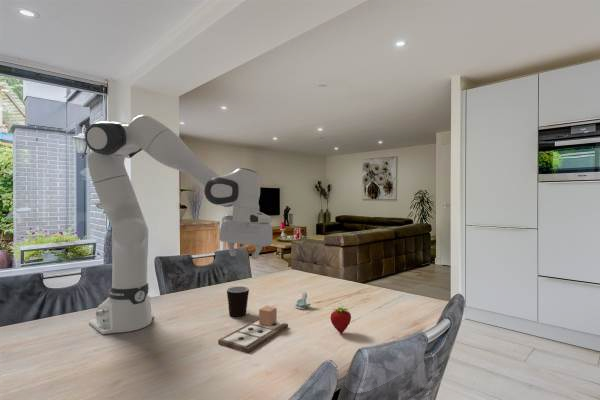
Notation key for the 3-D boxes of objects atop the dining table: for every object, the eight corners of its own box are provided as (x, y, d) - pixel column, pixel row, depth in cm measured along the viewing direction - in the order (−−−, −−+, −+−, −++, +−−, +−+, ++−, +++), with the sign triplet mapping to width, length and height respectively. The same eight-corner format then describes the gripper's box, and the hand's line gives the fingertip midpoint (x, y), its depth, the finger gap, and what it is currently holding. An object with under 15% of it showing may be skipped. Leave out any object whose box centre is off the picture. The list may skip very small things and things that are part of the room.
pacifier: (299, 311, 128) (312, 308, 131) (299, 296, 128) (312, 294, 131) (291, 306, 135) (304, 303, 138) (291, 291, 135) (303, 289, 137)
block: (259, 323, 110) (259, 309, 110) (266, 319, 114) (266, 305, 114) (269, 326, 108) (269, 311, 108) (276, 321, 112) (276, 307, 112)
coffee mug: (243, 319, 118) (244, 293, 118) (222, 317, 120) (222, 291, 120) (254, 309, 130) (254, 285, 130) (234, 307, 131) (235, 283, 131)
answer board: (218, 343, 98) (218, 338, 98) (260, 320, 117) (260, 316, 117) (248, 353, 92) (248, 347, 92) (287, 327, 111) (287, 322, 111)
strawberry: (326, 331, 108) (326, 302, 108) (344, 328, 111) (345, 299, 111) (336, 338, 102) (336, 307, 102) (354, 334, 106) (355, 304, 106)
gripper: (216, 214, 108) (214, 255, 108) (265, 218, 99) (262, 262, 98) (228, 214, 114) (226, 253, 114) (275, 217, 104) (274, 259, 104)
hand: (243, 257), depth 106 cm, fingers open, 8 cm apart
